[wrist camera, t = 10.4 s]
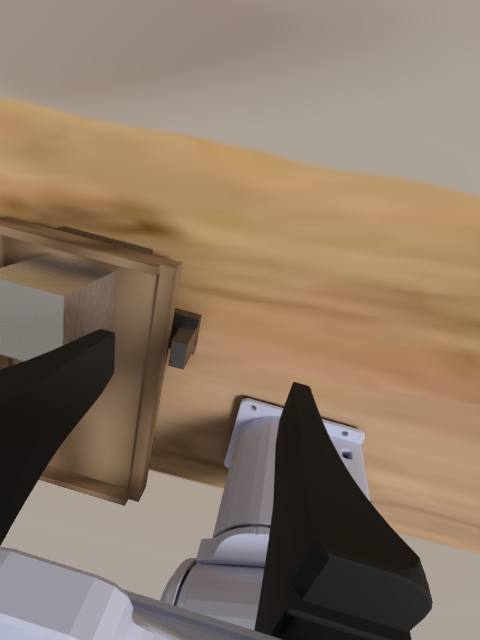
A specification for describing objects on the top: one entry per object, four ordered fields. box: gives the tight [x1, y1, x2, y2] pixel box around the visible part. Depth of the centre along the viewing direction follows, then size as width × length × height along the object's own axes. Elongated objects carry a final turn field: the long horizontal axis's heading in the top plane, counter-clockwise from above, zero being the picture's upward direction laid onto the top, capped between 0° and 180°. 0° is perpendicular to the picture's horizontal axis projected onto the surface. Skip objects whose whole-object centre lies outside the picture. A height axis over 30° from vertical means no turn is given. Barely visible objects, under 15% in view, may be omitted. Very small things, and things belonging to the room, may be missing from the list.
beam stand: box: [57, 226, 201, 369], centre depth 25 cm, size 14×17×3 cm
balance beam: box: [0, 217, 182, 506], centre depth 23 cm, size 11×18×2 cm, turn 168°
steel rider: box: [0, 253, 117, 361], centre depth 19 cm, size 4×4×5 cm
